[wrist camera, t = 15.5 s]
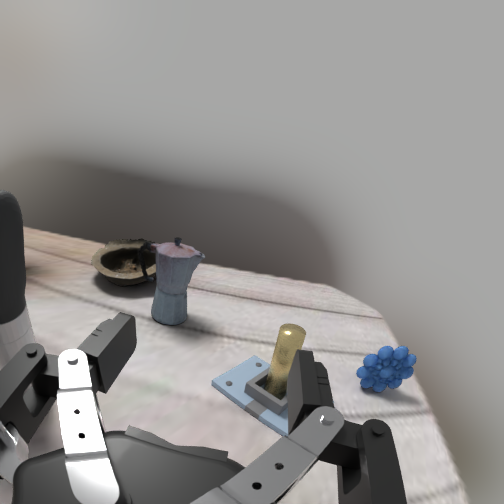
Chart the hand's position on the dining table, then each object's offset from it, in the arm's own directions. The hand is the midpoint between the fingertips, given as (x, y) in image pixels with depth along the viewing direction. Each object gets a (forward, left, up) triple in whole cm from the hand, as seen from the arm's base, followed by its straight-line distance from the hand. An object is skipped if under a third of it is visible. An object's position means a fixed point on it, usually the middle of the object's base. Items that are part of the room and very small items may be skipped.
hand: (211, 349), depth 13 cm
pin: (-8, +25, -28) cm, 38 cm away
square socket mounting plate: (-8, +25, -29) cm, 39 cm away
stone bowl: (-65, +28, -29) cm, 77 cm away
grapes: (+7, +42, -29) cm, 52 cm away
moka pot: (-41, +26, -29) cm, 57 cm away
